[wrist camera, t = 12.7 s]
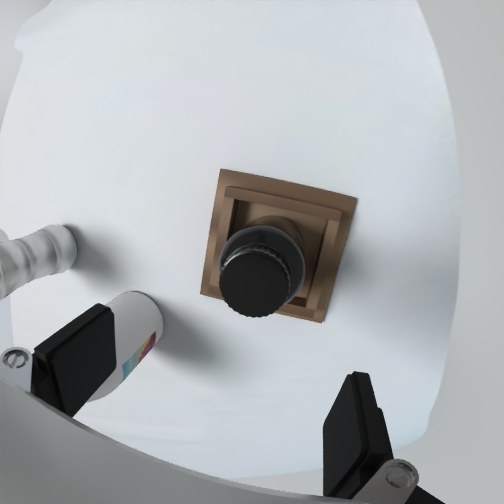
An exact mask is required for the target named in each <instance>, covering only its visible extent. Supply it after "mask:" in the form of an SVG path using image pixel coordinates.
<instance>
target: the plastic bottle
mask: <svg viewBox="0 0 504 504" xmlns="http://www.w3.org/2000/svg"><path fill="white" fill-rule="evenodd" d="M76 255H77V246H76V242H75V239H74V237H73V235H72V233H71V232H70V231H69V230H68V229H66V228H65V227H63V226H62V225H48V226H46V227H44V228H41V229H39V230H38V231H36V232H35V233H32V234H30V235H27V236H25V237H22V238H19V239H15V240H10V241H6V242H0V301H1V300H2V299H3V298H5V297H6V296H8V295H9V294H10V293H12V292H13V291H15V290H16V289H17V288H19V287H21V286H23V285H25V284H26V283H28V282H30V281H32V280H34V279H37V278H41V277H44V276H47V275H54V274H58V273H62V272H64V271H66V270H67V269H69V268H70V267H71V266H72V265H73V263H74V261H75V259H76Z"/></svg>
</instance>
